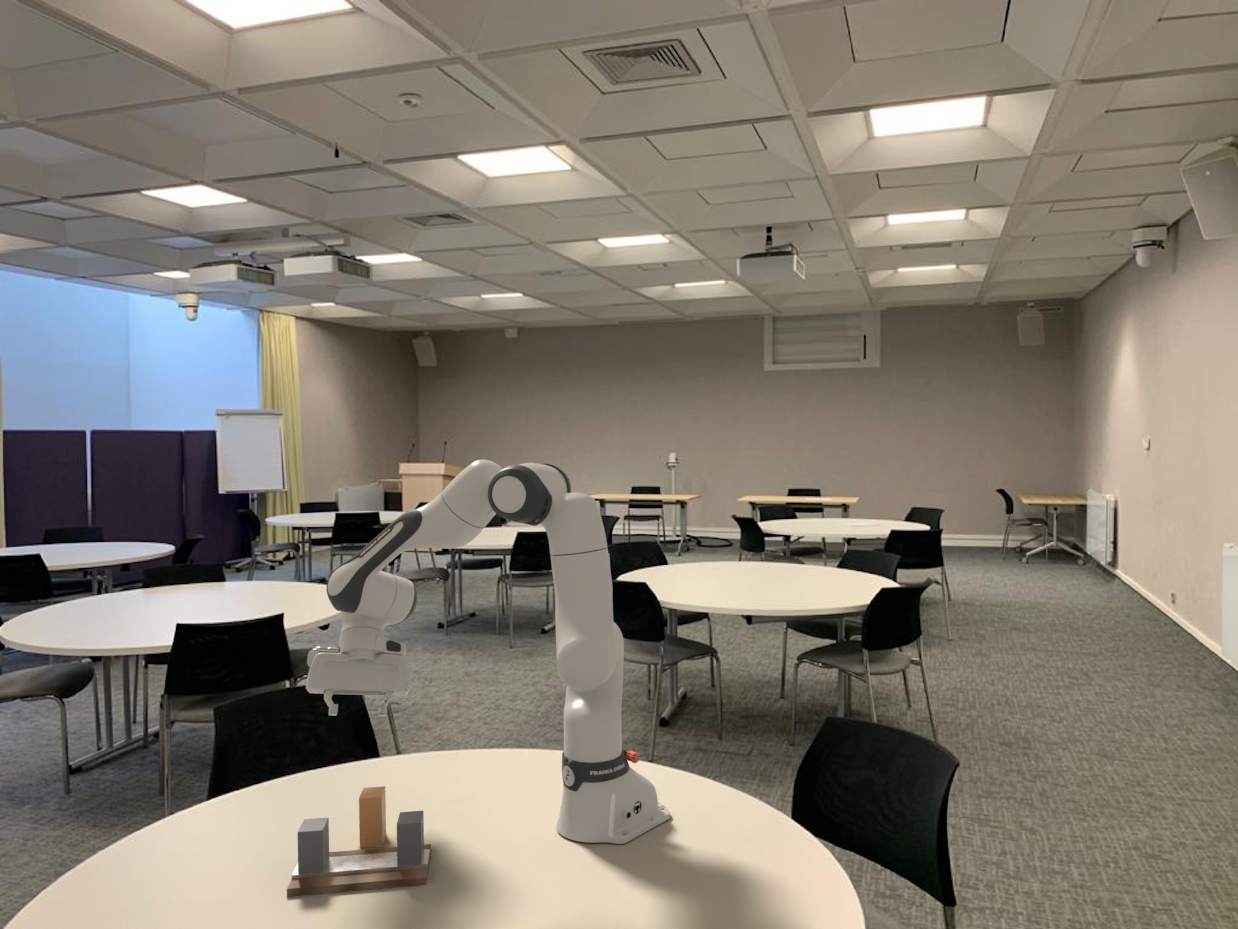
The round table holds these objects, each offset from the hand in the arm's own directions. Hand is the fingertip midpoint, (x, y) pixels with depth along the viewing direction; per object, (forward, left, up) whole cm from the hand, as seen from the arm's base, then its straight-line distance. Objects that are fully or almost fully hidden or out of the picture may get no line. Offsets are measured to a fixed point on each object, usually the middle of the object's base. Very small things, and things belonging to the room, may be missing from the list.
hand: (357, 715), depth 165 cm
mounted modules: (+8, +22, -18) cm, 30 cm away
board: (+8, +22, -20) cm, 31 cm away
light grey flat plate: (+8, +22, -19) cm, 30 cm away
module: (+2, +12, -20) cm, 23 cm away
